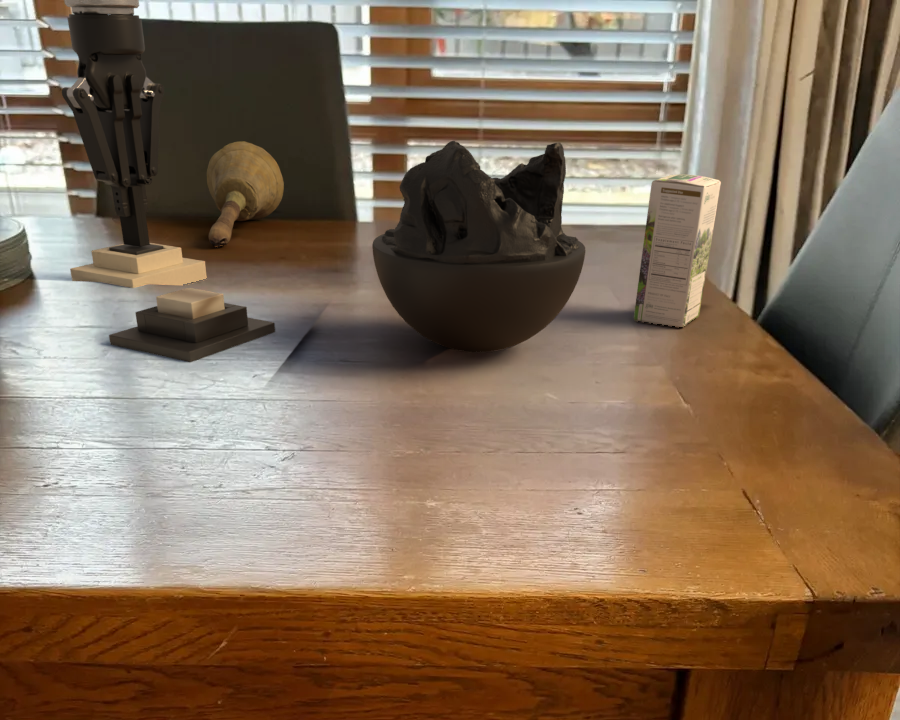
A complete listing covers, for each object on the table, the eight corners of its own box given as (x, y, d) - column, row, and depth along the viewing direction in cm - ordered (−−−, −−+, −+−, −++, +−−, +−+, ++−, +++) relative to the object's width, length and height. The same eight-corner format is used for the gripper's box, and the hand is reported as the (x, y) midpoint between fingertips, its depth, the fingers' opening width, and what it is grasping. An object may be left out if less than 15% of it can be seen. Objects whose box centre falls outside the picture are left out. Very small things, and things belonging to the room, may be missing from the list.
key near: (193, 322, 90) (191, 303, 89) (158, 315, 92) (155, 296, 91) (225, 312, 93) (223, 293, 92) (190, 305, 95) (188, 287, 94)
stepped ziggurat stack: (134, 299, 111) (129, 263, 109) (73, 287, 115) (66, 252, 113) (207, 279, 120) (203, 245, 118) (147, 269, 124) (143, 236, 122)
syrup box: (650, 310, 111) (667, 172, 104) (701, 318, 108) (722, 177, 101) (632, 321, 107) (649, 178, 99) (684, 330, 104) (705, 183, 97)
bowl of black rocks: (339, 363, 92) (330, 143, 82) (422, 313, 108) (422, 125, 98) (542, 392, 86) (558, 159, 76) (598, 335, 102) (617, 136, 92)
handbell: (260, 232, 158) (232, 296, 139) (194, 186, 154) (156, 245, 135) (299, 172, 152) (274, 230, 133) (231, 121, 147) (196, 174, 128)
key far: (138, 267, 114) (136, 251, 113) (111, 262, 116) (108, 247, 115) (165, 261, 117) (163, 245, 116) (138, 256, 119) (136, 241, 118)
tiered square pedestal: (192, 376, 88) (186, 331, 86) (112, 358, 92) (105, 315, 90) (276, 344, 97) (273, 303, 95) (200, 329, 101) (195, 289, 99)
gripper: (80, 11, 97) (118, 257, 109) (174, 12, 107) (198, 239, 119) (28, 10, 100) (70, 250, 112) (124, 12, 110) (153, 232, 122)
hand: (136, 244), depth 115 cm, fingers closed
